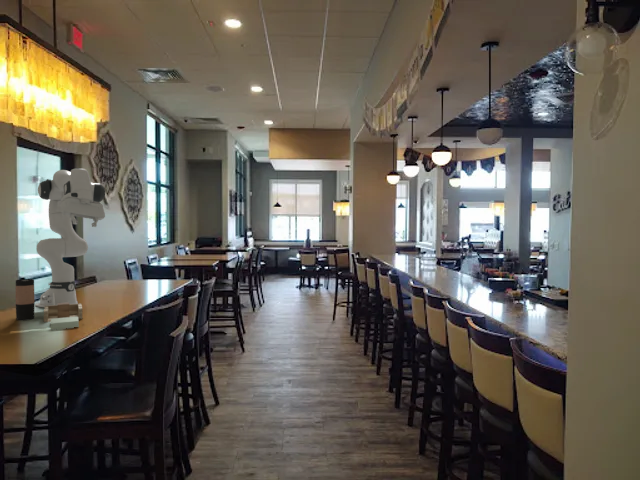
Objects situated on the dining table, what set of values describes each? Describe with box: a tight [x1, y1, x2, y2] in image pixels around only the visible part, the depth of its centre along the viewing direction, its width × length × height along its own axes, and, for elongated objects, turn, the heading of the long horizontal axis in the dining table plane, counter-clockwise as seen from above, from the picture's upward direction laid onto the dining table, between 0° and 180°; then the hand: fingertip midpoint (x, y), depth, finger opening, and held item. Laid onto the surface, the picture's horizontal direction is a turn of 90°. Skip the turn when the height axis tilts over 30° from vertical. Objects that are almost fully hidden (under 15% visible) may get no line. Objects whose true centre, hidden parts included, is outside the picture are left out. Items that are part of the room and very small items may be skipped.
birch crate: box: [43, 302, 83, 323], centre depth 218 cm, size 16×16×6 cm
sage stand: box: [50, 317, 80, 331], centre depth 203 cm, size 11×11×3 cm
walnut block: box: [58, 302, 69, 318], centre depth 217 cm, size 5×5×7 cm
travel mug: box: [15, 278, 36, 321], centre depth 213 cm, size 8×8×20 cm
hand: (85, 225), depth 210 cm, fingers open, 8 cm apart
